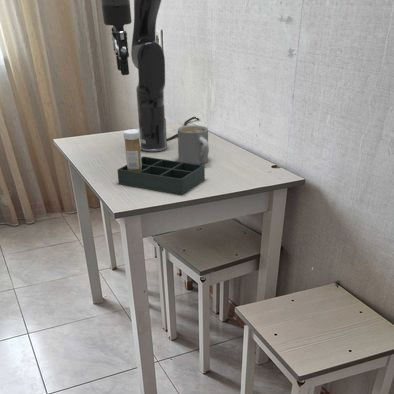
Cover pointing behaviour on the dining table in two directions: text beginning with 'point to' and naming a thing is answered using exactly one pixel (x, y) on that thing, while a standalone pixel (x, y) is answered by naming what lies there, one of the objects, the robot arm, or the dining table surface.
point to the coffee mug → (193, 144)
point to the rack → (163, 175)
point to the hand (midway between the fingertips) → (123, 72)
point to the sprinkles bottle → (133, 150)
